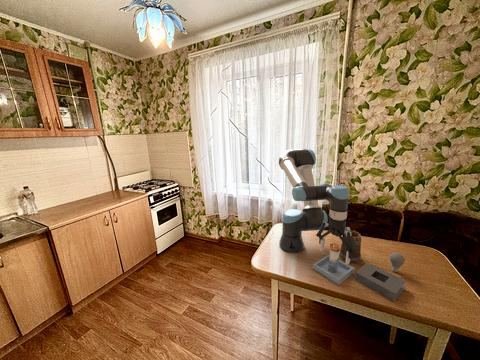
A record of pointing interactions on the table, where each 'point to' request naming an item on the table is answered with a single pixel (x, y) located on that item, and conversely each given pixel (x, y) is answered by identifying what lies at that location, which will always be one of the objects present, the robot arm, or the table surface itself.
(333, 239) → the table surface
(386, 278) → the hitch block
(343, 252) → the mug
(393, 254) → the light bulb
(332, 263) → the pin
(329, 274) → the tray
